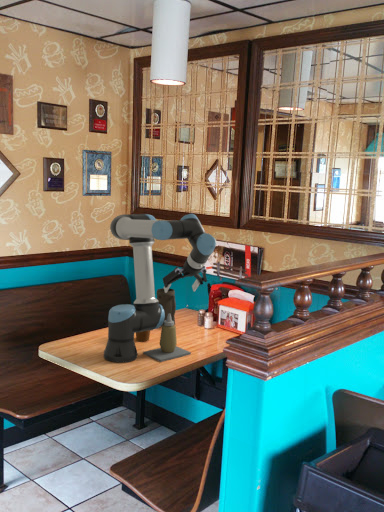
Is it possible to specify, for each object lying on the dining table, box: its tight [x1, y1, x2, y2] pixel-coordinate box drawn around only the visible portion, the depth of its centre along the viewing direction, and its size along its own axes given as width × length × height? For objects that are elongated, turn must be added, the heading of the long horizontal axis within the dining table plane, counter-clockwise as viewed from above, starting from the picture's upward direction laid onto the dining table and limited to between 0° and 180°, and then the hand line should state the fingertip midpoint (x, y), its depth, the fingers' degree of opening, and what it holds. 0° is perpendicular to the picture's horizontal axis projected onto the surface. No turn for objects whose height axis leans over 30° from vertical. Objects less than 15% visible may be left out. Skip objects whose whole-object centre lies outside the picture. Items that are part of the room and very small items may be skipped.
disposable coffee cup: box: [135, 330, 151, 343], centre depth 266 cm, size 10×10×12 cm
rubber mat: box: [142, 345, 192, 363], centre depth 248 cm, size 18×13×1 cm
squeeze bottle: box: [159, 314, 178, 353], centre depth 248 cm, size 8×8×18 cm
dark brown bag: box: [156, 287, 177, 327], centre depth 291 cm, size 15×11×20 cm
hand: (179, 289), depth 235 cm, fingers open, 13 cm apart
